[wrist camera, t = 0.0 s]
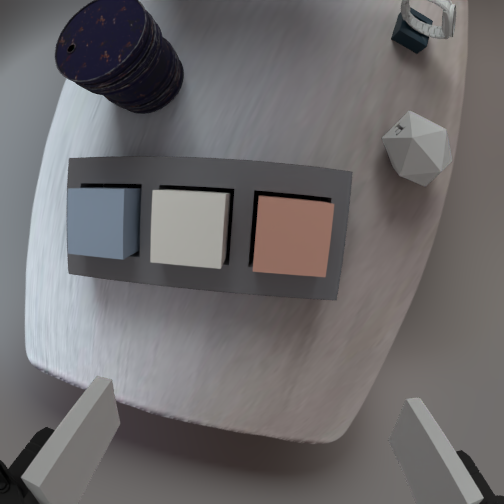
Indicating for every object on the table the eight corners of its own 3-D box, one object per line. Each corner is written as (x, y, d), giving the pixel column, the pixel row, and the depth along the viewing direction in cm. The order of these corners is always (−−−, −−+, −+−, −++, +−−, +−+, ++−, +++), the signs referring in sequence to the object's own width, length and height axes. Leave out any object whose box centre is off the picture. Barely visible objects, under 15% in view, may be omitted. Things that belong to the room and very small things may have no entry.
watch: (428, 61, 33) (468, 34, 22) (379, 33, 32) (410, -4, 22) (434, 35, 32) (471, 6, 21) (388, 8, 31) (417, -29, 21)
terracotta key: (258, 195, 33) (258, 196, 28) (323, 201, 33) (334, 204, 28) (253, 259, 35) (252, 271, 30) (316, 264, 35) (325, 277, 30)
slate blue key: (90, 187, 33) (67, 188, 28) (142, 188, 33) (124, 189, 28) (89, 245, 35) (67, 253, 30) (140, 249, 35) (123, 259, 30)
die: (421, 117, 35) (408, 88, 28) (464, 162, 32) (464, 141, 25) (382, 155, 40) (361, 136, 32) (423, 202, 37) (413, 192, 29)
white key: (167, 189, 33) (152, 190, 28) (230, 193, 33) (225, 194, 28) (164, 251, 35) (150, 262, 30) (226, 257, 35) (220, 268, 30)
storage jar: (177, 38, 33) (141, -22, 19) (192, 99, 35) (155, 54, 21) (110, 64, 34) (52, 22, 20) (120, 125, 36) (56, 100, 21)
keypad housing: (92, 160, 37) (69, 158, 31) (338, 173, 37) (352, 171, 31) (90, 262, 40) (68, 273, 34) (325, 284, 40) (336, 300, 34)
